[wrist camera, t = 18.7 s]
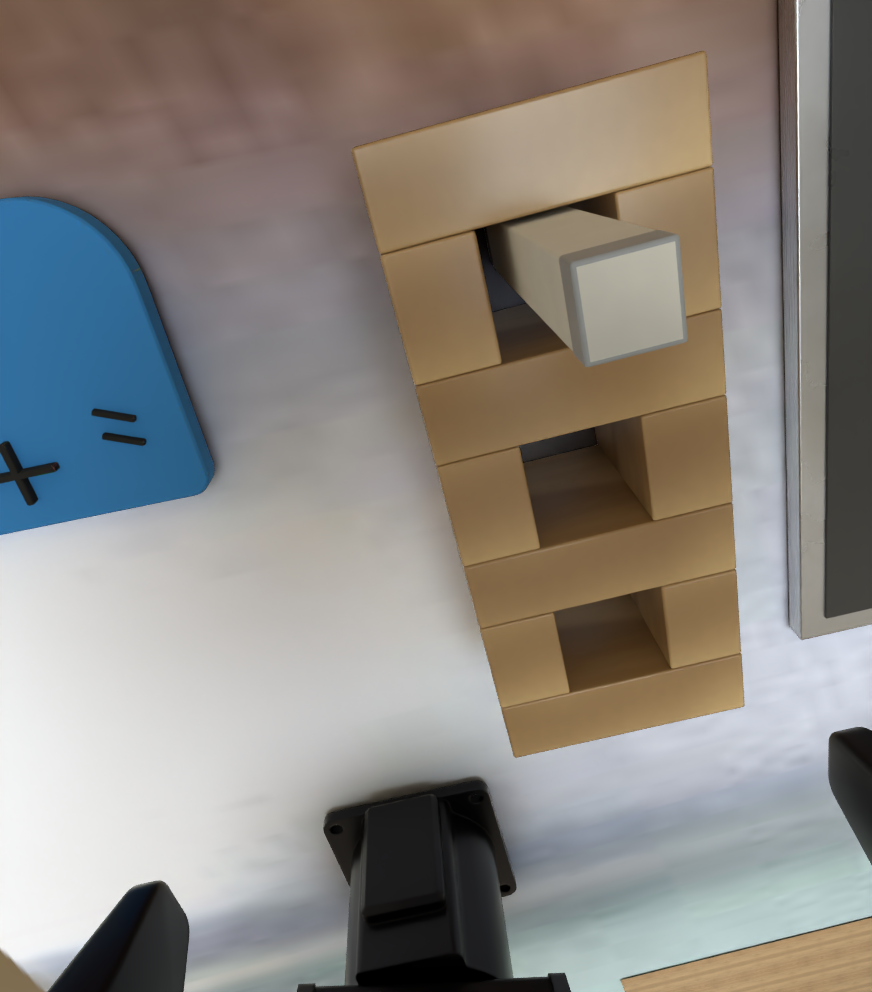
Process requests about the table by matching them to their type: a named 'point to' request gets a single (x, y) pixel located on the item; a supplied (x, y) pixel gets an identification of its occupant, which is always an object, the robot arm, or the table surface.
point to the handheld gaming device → (85, 376)
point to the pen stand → (573, 407)
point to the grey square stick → (595, 280)
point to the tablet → (827, 309)
